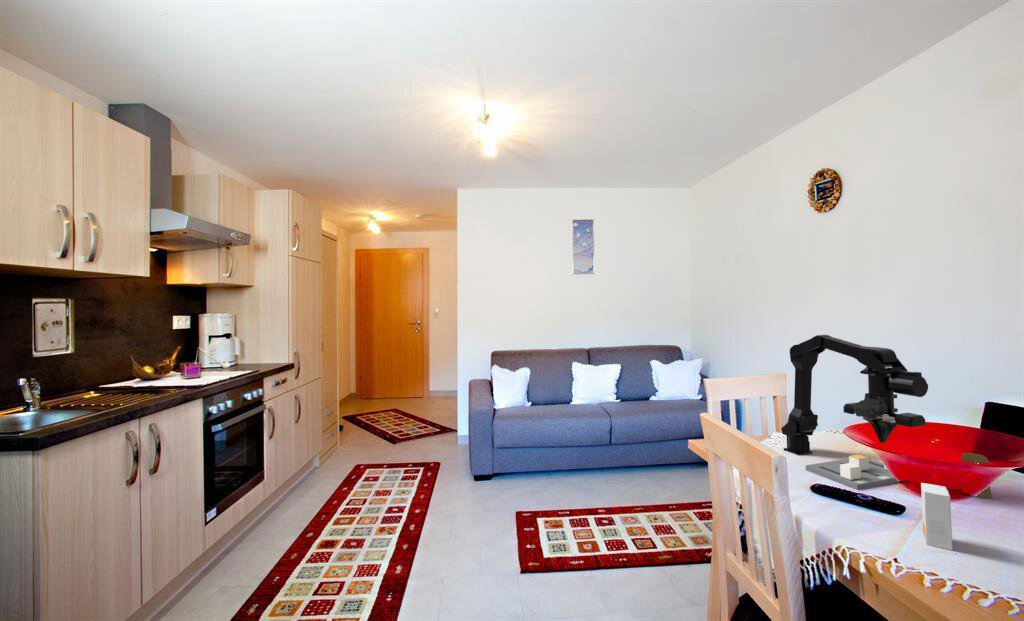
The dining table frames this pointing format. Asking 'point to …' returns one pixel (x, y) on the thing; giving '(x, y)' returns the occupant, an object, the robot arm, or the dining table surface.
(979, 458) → the cork
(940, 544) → the skincare box
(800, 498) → the dining table surface
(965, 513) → the dining table surface
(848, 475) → the block
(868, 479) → the panel
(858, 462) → the block
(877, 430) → the robot arm
